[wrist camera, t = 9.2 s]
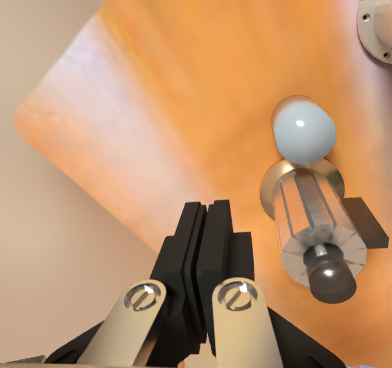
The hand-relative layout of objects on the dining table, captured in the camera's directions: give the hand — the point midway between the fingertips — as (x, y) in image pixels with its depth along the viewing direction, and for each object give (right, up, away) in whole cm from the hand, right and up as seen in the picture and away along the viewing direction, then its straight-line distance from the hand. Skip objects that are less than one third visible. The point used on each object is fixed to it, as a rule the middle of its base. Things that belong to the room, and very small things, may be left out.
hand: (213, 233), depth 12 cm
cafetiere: (+16, +1, +39) cm, 42 cm away
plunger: (+16, -1, +36) cm, 40 cm away
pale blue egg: (+14, +11, +34) cm, 39 cm away
